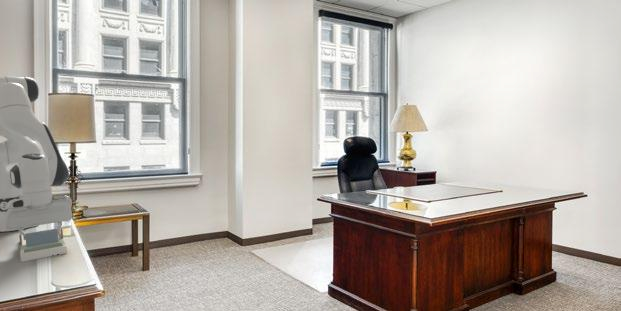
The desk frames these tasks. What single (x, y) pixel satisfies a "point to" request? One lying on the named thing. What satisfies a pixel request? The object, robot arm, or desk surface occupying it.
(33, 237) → the slate bar
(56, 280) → the desk surface
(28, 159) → the robot arm
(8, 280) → the desk surface
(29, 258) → the tunnel deck
